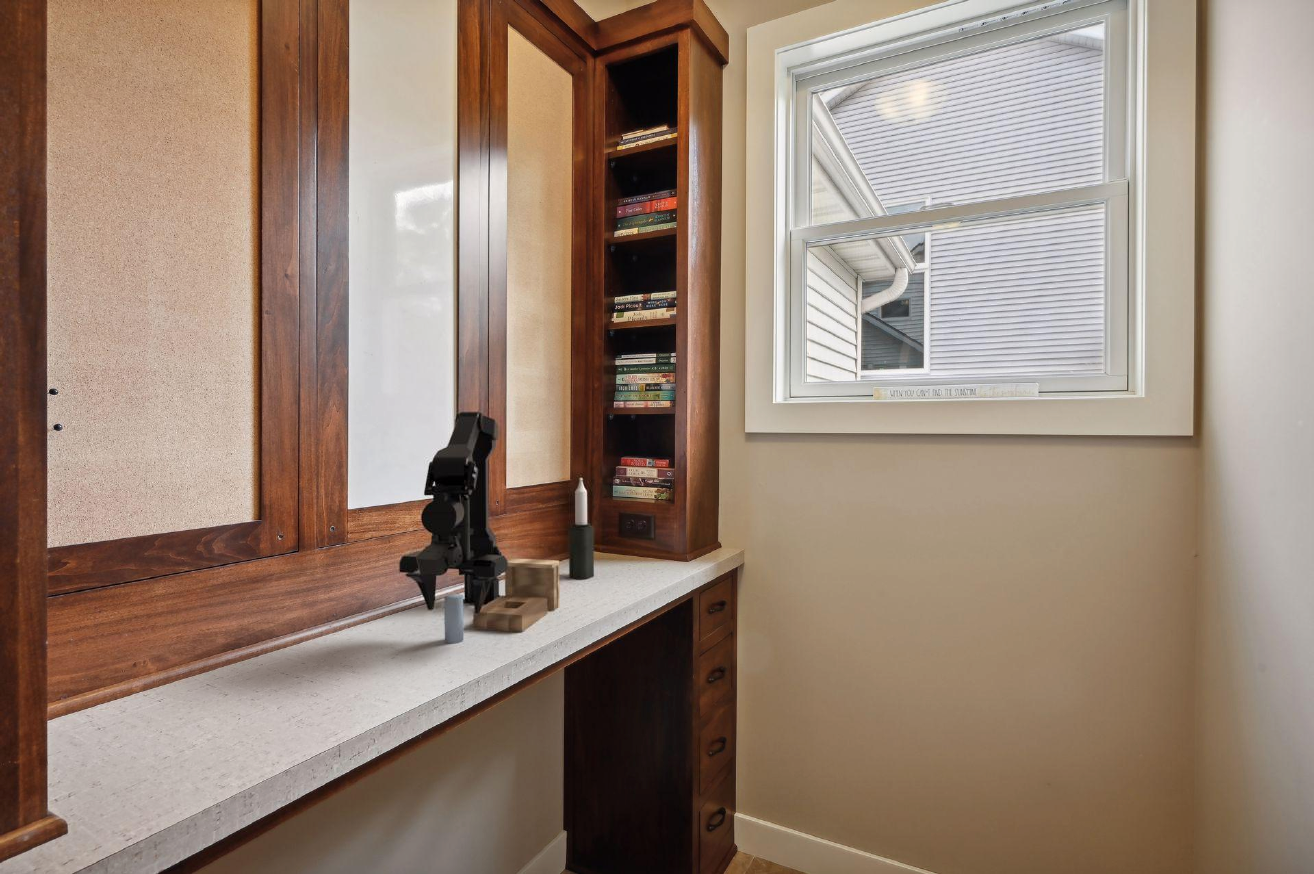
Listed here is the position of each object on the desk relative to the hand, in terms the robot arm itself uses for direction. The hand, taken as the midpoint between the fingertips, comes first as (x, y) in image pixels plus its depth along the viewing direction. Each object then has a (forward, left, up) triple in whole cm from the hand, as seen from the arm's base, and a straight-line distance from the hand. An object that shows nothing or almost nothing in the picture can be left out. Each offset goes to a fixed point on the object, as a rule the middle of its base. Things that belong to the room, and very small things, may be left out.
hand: (453, 611), depth 120 cm
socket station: (+5, +16, -5) cm, 17 cm away
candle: (+6, +51, -5) cm, 52 cm away
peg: (0, 0, -5) cm, 5 cm away
